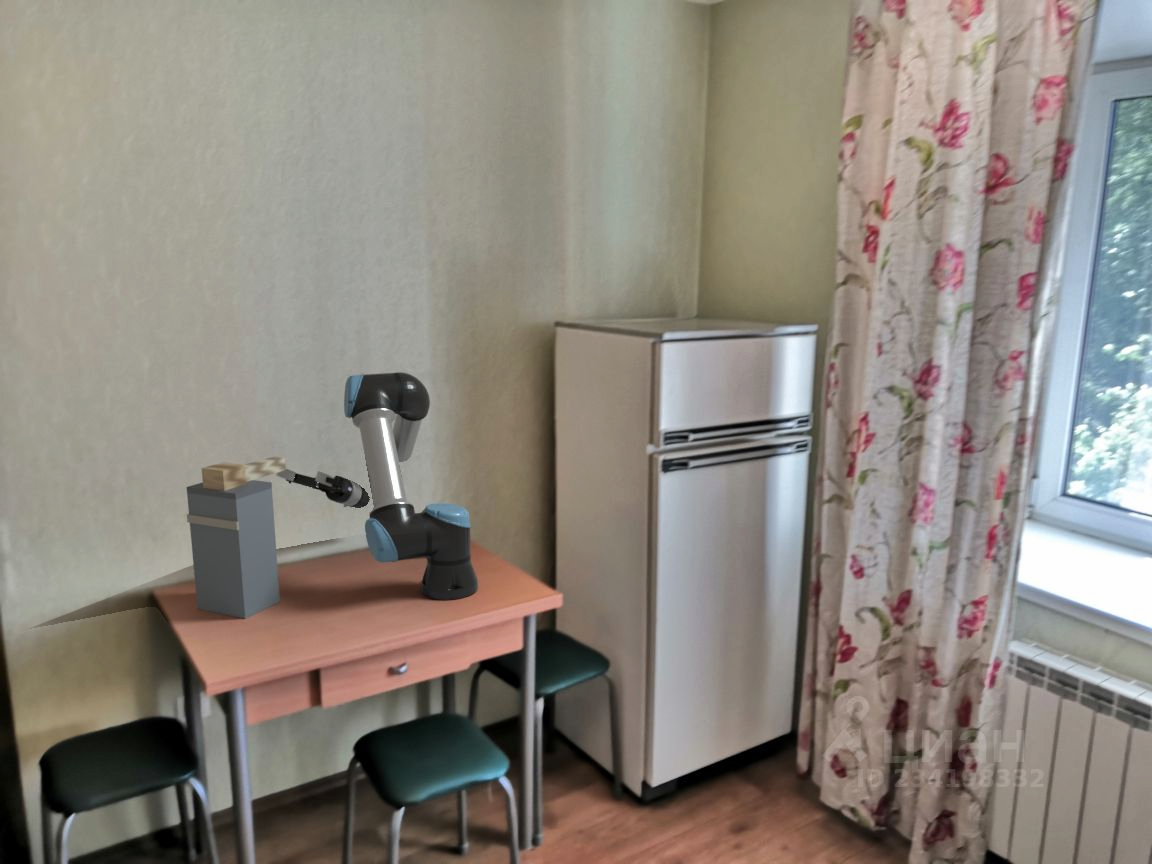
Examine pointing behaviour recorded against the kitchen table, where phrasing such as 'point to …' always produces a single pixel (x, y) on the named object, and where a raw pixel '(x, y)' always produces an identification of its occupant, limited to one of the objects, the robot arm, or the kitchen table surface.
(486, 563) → the kitchen table surface
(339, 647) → the kitchen table surface
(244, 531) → the lidded box
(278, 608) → the kitchen table surface
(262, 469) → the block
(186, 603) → the kitchen table surface
